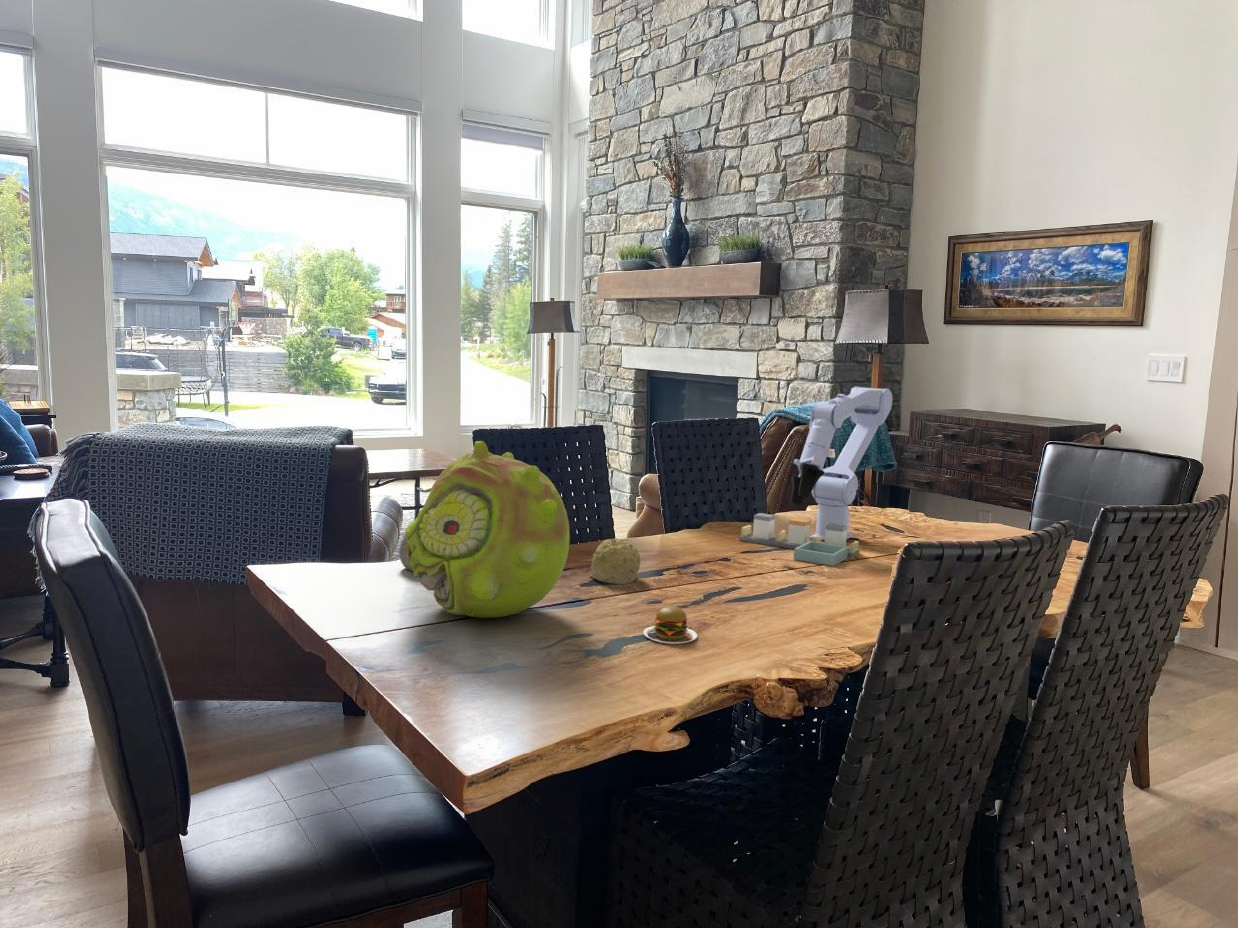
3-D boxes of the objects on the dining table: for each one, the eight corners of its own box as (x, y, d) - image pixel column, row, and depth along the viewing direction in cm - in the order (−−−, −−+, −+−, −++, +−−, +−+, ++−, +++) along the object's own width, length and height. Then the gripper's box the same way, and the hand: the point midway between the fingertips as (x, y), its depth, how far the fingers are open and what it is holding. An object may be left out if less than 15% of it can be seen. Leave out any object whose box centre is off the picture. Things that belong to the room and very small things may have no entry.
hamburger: (647, 654, 148) (648, 620, 148) (624, 630, 160) (625, 598, 159) (718, 650, 152) (720, 616, 151) (690, 627, 163) (692, 596, 162)
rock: (630, 589, 196) (617, 544, 199) (654, 574, 187) (640, 527, 190) (589, 598, 192) (576, 551, 194) (611, 583, 182) (597, 534, 185)
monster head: (392, 594, 173) (394, 430, 169) (538, 586, 183) (544, 430, 178) (418, 648, 144) (421, 452, 140) (590, 635, 154) (598, 452, 150)
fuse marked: (793, 540, 230) (794, 517, 229) (808, 542, 228) (810, 520, 227) (787, 542, 227) (789, 520, 226) (803, 545, 225) (805, 522, 224)
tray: (808, 551, 223) (809, 541, 222) (847, 557, 218) (848, 547, 218) (793, 559, 214) (794, 548, 214) (833, 566, 210) (834, 555, 209)
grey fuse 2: (829, 545, 226) (830, 523, 225) (845, 548, 224) (847, 525, 223) (824, 548, 223) (825, 525, 222) (840, 550, 221) (842, 527, 220)
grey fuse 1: (758, 534, 235) (759, 512, 234) (773, 537, 233) (775, 515, 232) (752, 537, 232) (754, 515, 231) (768, 539, 230) (769, 517, 229)
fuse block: (749, 536, 237) (749, 524, 237) (859, 553, 223) (860, 540, 223) (738, 540, 232) (739, 528, 232) (851, 558, 218) (852, 545, 218)
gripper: (793, 452, 234) (776, 502, 230) (807, 433, 220) (789, 486, 216) (820, 462, 234) (804, 512, 230) (836, 444, 220) (819, 497, 216)
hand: (799, 500), depth 223 cm, fingers open, 7 cm apart
